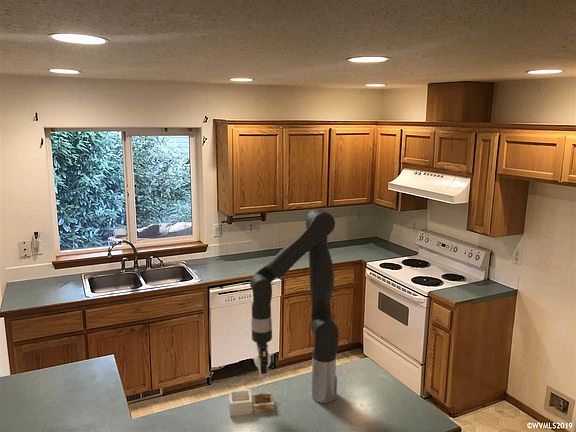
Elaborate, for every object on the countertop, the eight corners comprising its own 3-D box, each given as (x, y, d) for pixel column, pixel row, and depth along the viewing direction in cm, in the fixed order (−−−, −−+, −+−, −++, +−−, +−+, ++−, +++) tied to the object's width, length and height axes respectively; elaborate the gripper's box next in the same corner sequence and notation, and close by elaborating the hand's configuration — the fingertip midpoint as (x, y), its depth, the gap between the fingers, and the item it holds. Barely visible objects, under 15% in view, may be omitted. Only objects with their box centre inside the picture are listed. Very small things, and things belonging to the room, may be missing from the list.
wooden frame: (271, 398, 180) (271, 391, 180) (274, 410, 173) (274, 403, 172) (251, 400, 179) (251, 393, 179) (253, 413, 171) (253, 405, 171)
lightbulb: (269, 384, 170) (268, 356, 168) (252, 382, 171) (251, 355, 169) (273, 374, 176) (272, 348, 174) (257, 373, 177) (256, 347, 175)
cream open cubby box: (250, 400, 179) (250, 388, 178) (252, 413, 171) (252, 401, 170) (229, 402, 178) (228, 390, 177) (230, 415, 170) (229, 403, 169)
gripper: (274, 335, 163) (275, 377, 167) (269, 318, 177) (270, 358, 181) (253, 336, 162) (254, 379, 165) (249, 320, 176) (251, 360, 179)
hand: (262, 368), depth 173 cm, fingers closed on lightbulb, 6 cm apart
